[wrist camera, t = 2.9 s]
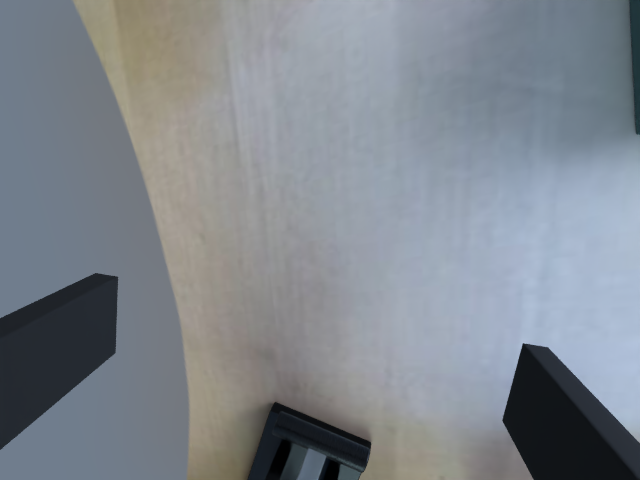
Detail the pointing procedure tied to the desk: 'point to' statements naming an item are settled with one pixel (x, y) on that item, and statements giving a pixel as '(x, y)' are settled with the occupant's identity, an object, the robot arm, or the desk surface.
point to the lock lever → (319, 446)
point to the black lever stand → (295, 452)
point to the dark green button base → (636, 56)
